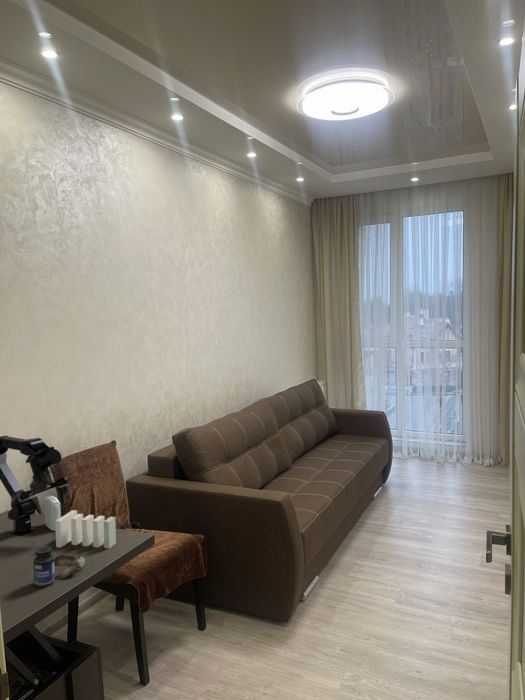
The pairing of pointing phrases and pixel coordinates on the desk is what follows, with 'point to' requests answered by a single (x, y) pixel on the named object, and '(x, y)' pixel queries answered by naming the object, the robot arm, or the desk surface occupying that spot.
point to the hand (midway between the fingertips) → (52, 510)
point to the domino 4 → (98, 531)
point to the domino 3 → (87, 530)
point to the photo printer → (52, 512)
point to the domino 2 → (76, 529)
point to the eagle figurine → (70, 562)
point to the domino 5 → (109, 532)
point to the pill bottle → (44, 567)
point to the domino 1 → (64, 529)
